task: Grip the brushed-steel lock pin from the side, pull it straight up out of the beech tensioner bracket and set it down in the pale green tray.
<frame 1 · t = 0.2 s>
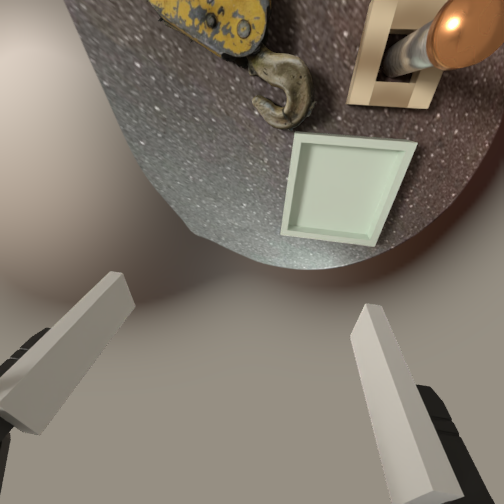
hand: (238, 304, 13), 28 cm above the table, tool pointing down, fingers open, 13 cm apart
tensioner bracket: (396, 60, 26), on the table
pale green tray: (335, 189, 35), on the table
steel lock pin: (396, 60, 26), resting in tensioner bracket
pulley block: (229, 9, 26), on the table
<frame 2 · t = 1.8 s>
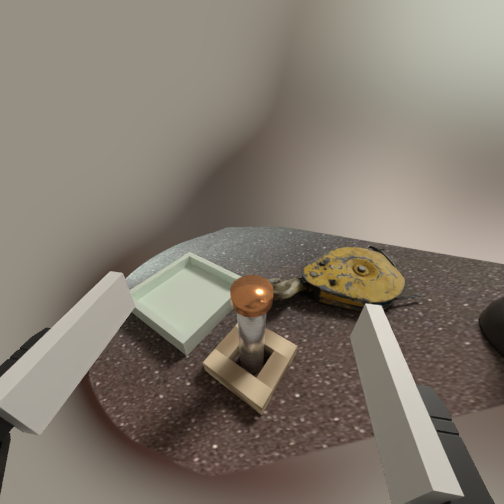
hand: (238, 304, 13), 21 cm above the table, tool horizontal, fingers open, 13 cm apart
tensioner bracket: (251, 361, 31), on the table
pale green tray: (189, 299, 40), on the table
steel lock pin: (251, 362, 31), resting in tensioner bracket
pulley block: (327, 289, 43), on the table
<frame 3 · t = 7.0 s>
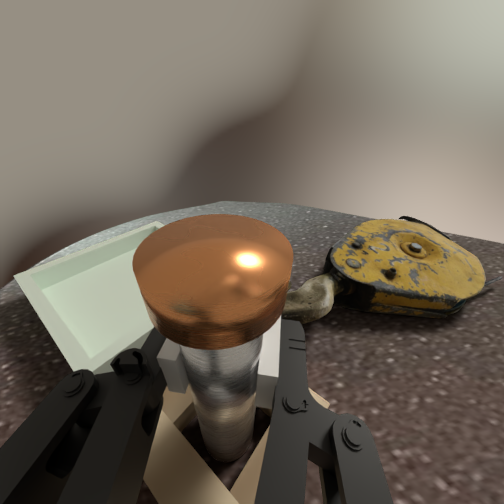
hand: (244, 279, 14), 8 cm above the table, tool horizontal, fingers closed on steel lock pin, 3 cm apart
tensioner bracket: (228, 428, 14), on the table
pale green tray: (140, 291, 24), on the table
steel lock pin: (228, 429, 14), resting in tensioner bracket, touching gripper
pulley block: (362, 286, 27), on the table
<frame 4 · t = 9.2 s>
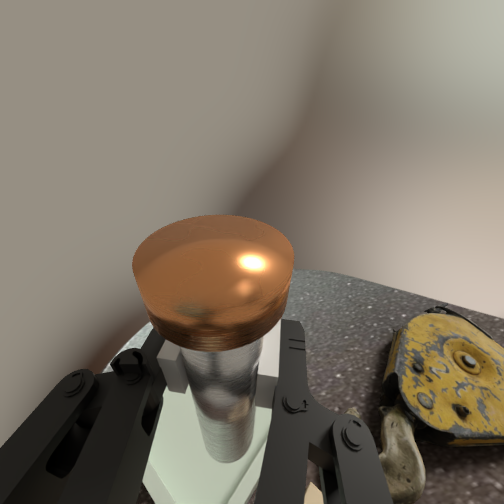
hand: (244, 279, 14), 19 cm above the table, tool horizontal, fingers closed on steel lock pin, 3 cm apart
pale green tray: (211, 411, 25), on the table
steel lock pin: (228, 430, 14), point 11 cm above the table, touching gripper
pulley block: (419, 398, 27), on the table
when the fingers open (10 cm above the table, at t = 11.8 s): steel lock pin drops 1 cm, resting on pale green tray.
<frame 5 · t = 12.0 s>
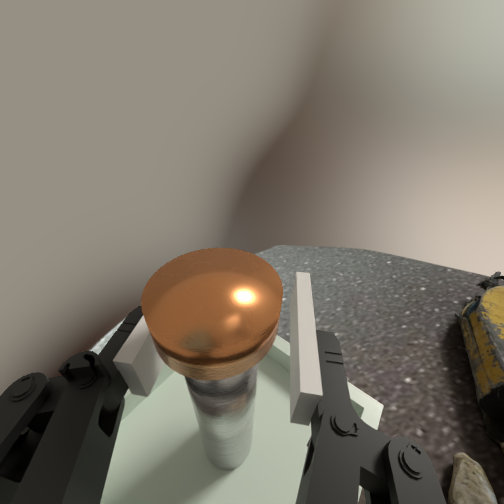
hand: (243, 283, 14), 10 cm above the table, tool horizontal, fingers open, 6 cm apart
pale green tray: (229, 442, 16), on the table
steel lock pin: (228, 438, 15), point 1 cm above the table, touching pale green tray
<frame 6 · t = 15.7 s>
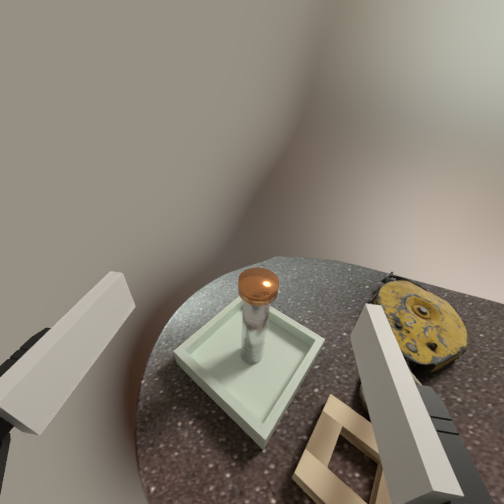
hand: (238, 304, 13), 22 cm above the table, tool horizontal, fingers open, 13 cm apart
tensioner bracket: (350, 468, 24), on the table
pale green tray: (251, 357, 33), on the table
steel lock pin: (251, 353, 32), point 1 cm above the table, touching pale green tray
pulley block: (399, 347, 36), on the table
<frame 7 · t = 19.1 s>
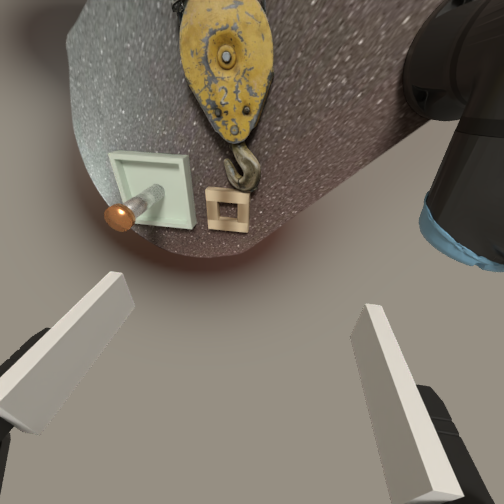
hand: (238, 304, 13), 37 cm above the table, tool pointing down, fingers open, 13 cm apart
tensioner bracket: (229, 208, 50), on the table
pale green tray: (159, 189, 49), on the table
steel lock pin: (157, 191, 49), point 1 cm above the table, touching pale green tray
pulley block: (234, 102, 39), on the table
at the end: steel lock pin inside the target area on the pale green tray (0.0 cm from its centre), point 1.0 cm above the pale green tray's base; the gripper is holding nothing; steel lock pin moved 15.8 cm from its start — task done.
